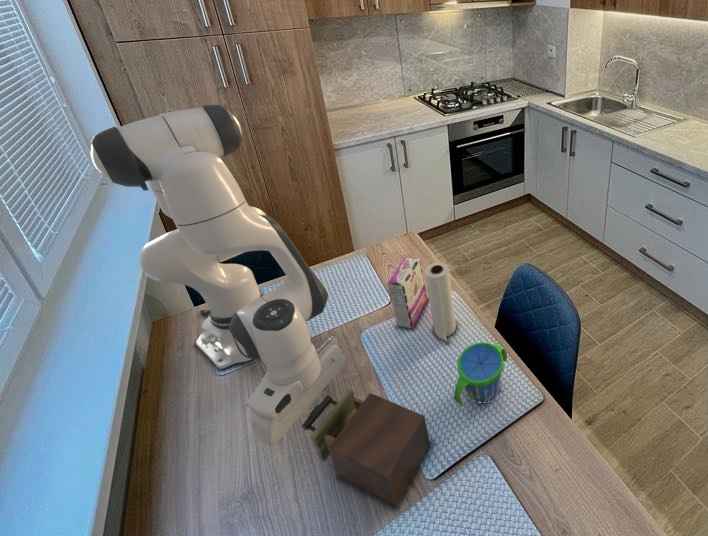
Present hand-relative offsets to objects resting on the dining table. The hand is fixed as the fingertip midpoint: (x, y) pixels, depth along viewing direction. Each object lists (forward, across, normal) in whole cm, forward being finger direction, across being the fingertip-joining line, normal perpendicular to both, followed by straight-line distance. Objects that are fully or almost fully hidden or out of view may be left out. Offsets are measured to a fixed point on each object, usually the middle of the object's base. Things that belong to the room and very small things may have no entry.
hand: (312, 413), depth 88 cm
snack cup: (+5, -21, +31) cm, 38 cm away
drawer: (+4, 0, +10) cm, 10 cm away
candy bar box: (+5, -35, 0) cm, 36 cm away
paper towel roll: (+5, -33, +12) cm, 36 cm away
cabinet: (+5, 0, +19) cm, 19 cm away
